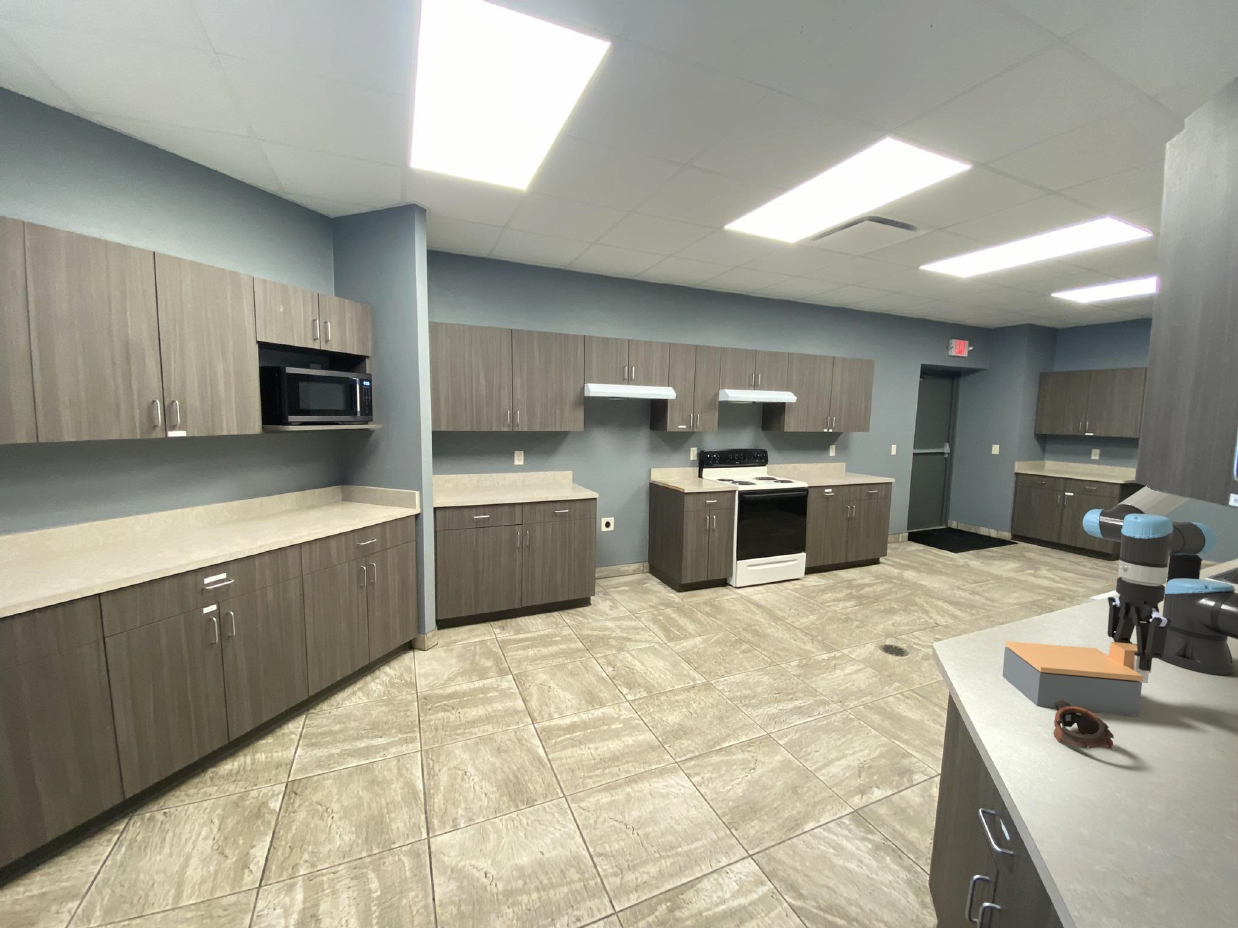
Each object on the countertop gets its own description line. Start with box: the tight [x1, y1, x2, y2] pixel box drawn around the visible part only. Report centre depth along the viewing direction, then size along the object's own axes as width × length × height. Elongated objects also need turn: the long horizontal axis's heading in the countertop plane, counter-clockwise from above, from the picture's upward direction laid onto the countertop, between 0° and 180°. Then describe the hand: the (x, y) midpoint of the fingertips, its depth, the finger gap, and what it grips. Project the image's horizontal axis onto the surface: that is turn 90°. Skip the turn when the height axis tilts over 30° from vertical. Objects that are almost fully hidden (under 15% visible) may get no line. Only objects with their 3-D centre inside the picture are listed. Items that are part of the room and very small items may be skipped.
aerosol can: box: [1165, 554, 1203, 587], centre depth 178 cm, size 8×8×20 cm
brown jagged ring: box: [1052, 700, 1115, 750], centre depth 97 cm, size 12×10×8 cm
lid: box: [1005, 640, 1153, 681], centre depth 112 cm, size 25×13×6 cm, turn 79°
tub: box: [1002, 646, 1143, 717], centre depth 113 cm, size 20×13×8 cm, turn 79°
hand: (1130, 675), depth 111 cm, fingers closed on lid, 4 cm apart
